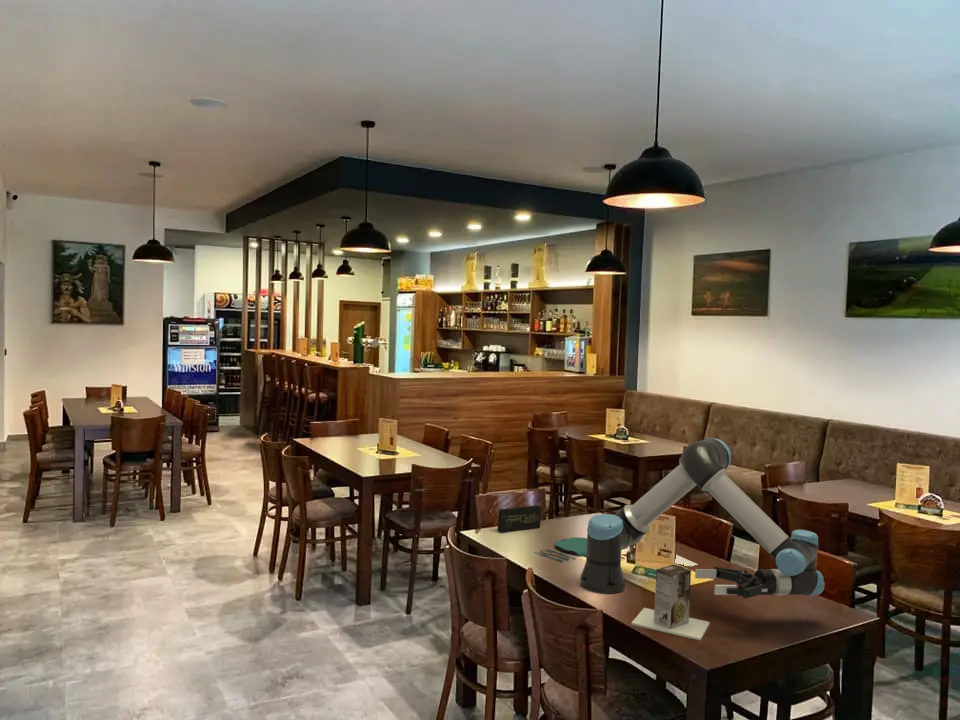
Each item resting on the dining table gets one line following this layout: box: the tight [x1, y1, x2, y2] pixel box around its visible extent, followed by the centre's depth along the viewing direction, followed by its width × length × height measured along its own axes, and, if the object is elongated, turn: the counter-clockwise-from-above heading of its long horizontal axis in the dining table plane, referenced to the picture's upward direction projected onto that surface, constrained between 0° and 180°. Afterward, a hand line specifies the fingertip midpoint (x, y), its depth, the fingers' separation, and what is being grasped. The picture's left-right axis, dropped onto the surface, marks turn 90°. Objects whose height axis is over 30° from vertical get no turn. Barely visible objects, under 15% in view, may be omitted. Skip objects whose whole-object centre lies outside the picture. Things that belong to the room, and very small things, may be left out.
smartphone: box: [674, 554, 699, 567], centre depth 279 cm, size 7×1×15 cm
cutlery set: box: [534, 536, 587, 563], centre depth 285 cm, size 20×30×2 cm, turn 131°
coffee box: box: [653, 563, 692, 629], centre depth 215 cm, size 9×6×16 cm
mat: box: [631, 607, 711, 641], centre depth 216 cm, size 20×14×1 cm
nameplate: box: [497, 505, 542, 534], centre depth 312 cm, size 21×2×10 cm, turn 121°
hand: (704, 581), depth 217 cm, fingers open, 13 cm apart
